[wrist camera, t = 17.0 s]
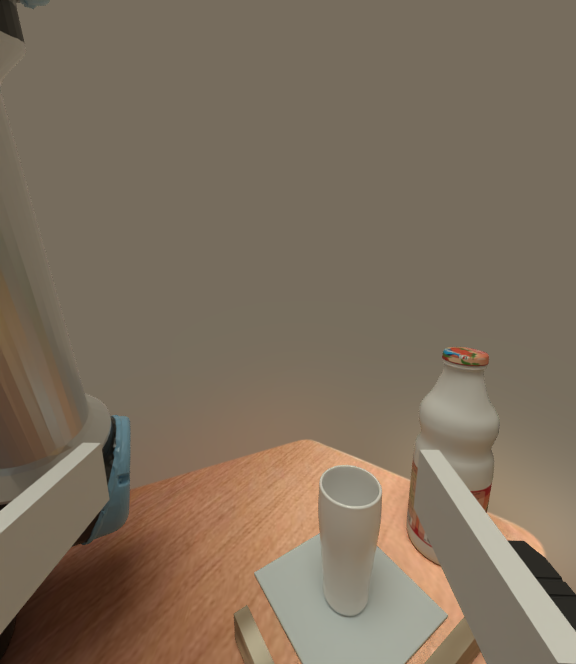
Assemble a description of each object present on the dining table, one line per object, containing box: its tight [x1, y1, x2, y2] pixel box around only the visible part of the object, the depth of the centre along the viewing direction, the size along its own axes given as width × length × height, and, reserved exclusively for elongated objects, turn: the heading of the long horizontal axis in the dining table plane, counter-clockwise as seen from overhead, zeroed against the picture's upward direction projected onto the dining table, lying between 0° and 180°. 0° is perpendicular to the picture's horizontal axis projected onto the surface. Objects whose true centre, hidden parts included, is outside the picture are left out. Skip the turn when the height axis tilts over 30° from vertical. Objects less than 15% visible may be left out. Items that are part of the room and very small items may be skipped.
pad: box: [254, 533, 448, 664], centre depth 36 cm, size 16×16×1 cm
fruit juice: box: [407, 347, 500, 565], centre depth 40 cm, size 9×9×28 cm
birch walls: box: [234, 605, 480, 664], centre depth 32 cm, size 14×24×4 cm, turn 123°
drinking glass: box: [318, 465, 382, 616], centre depth 34 cm, size 7×7×15 cm
